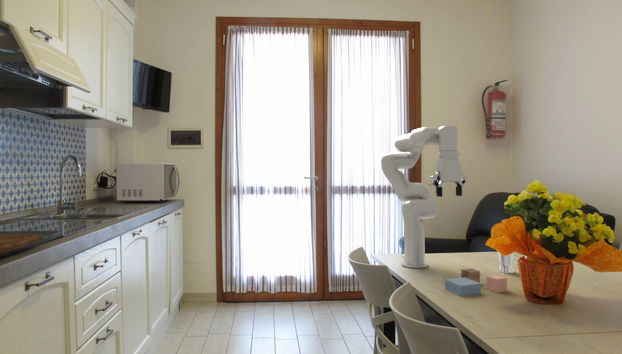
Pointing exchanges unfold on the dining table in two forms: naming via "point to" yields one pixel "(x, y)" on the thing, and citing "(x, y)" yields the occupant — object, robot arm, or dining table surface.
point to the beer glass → (506, 263)
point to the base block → (463, 286)
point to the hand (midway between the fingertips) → (449, 196)
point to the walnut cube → (471, 274)
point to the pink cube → (496, 283)
